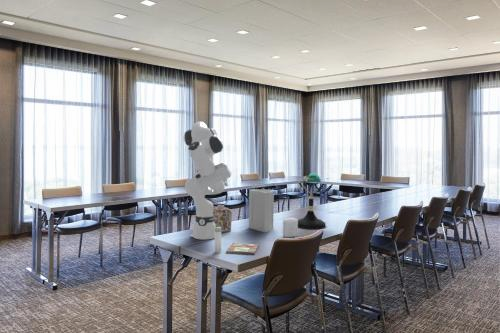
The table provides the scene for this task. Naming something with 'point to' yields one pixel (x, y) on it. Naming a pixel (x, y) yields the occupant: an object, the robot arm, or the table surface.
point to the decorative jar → (222, 218)
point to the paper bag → (261, 209)
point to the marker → (217, 239)
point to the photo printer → (290, 227)
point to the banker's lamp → (310, 218)
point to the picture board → (242, 248)
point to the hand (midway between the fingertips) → (219, 188)
